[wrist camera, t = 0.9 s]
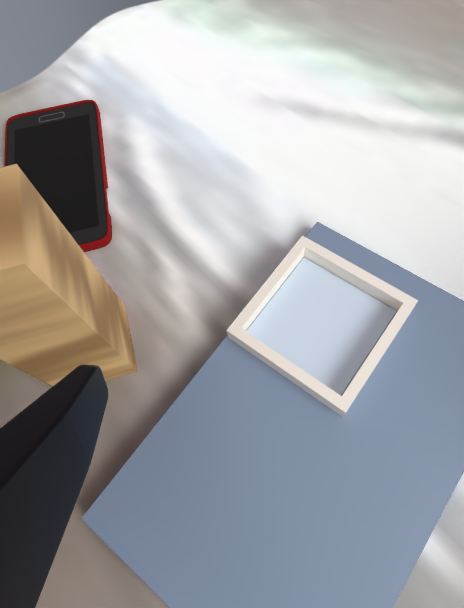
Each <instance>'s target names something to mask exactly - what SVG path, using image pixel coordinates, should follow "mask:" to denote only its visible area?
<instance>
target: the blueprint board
mask: <svg viewBox="0 0 464 608" xmlns="http://www.w3.org/2000/svg"><path fill="white" fill-rule="evenodd" d="M227 334H228V335H227V336H226V337H225V339H224V340H223V341H222V342H221V344H220V345H219V346H218V347H217V349H216V350H215V351H214V352H213V354H212V355H211V356H210V357H209V359H208V360H207V361H206V362H205V364H204V365H203V366H202V367H201V369H200V370H199V371H198V372H197V374H196V375H195V376H194V377H193V379H192V380H191V381H190V383H189V384H188V385H187V386H186V388H185V389H184V390H183V391H182V393H181V394H180V395H179V396H178V398H177V399H176V400H175V401H174V403H173V404H172V405H171V406H170V408H169V409H168V410H167V411H166V413H165V414H164V415H163V416H162V418H161V419H160V420H159V421H158V423H157V424H156V425H155V426H154V428H153V429H152V430H151V432H150V433H149V434H148V435H147V437H146V438H145V439H144V440H143V442H142V443H141V444H140V445H139V447H138V448H137V449H136V450H135V452H134V453H133V454H132V455H131V457H130V458H129V459H128V460H127V462H126V463H125V464H124V465H123V467H122V468H121V469H120V470H119V472H118V473H117V474H116V475H115V477H114V478H113V479H112V481H111V482H110V483H109V484H108V486H107V487H106V488H105V489H104V491H103V492H102V493H101V494H100V496H99V497H98V498H97V499H96V501H95V502H94V503H93V504H92V506H91V507H90V508H89V509H88V511H87V512H86V513H85V514H84V516H83V517H82V518H81V519H82V520H83V521H84V522H85V523H86V524H87V525H88V526H89V527H90V528H91V529H92V530H93V531H94V532H95V533H96V534H97V535H98V536H99V537H100V538H101V539H102V540H103V541H104V542H105V543H106V544H107V545H108V546H109V547H110V548H111V549H112V550H113V551H114V552H115V553H116V554H117V555H118V556H119V557H120V558H121V559H122V560H123V561H124V562H125V563H126V564H127V565H128V566H129V567H130V568H131V569H132V570H133V571H134V572H135V573H136V574H137V575H138V576H139V577H140V578H141V579H142V580H143V581H144V582H145V583H146V584H147V585H148V586H149V587H150V588H151V589H152V590H153V591H154V592H155V593H156V594H157V595H158V596H159V597H160V598H161V599H162V600H163V601H164V602H165V603H166V604H167V605H168V606H169V607H170V608H393V606H394V604H395V602H396V600H397V598H398V596H399V594H400V593H401V591H402V589H403V587H404V585H405V583H406V581H407V579H408V577H409V575H410V573H411V572H412V570H413V568H414V566H415V564H416V562H417V560H418V558H419V556H420V554H421V552H422V550H423V549H424V547H425V545H426V543H427V541H428V539H429V537H430V535H431V533H432V531H433V529H434V527H435V526H436V524H437V522H438V520H439V518H440V516H441V514H442V512H443V510H444V508H445V506H446V505H447V503H448V501H449V499H450V497H451V495H452V493H453V491H454V489H455V487H456V485H457V483H458V482H459V480H460V478H461V476H462V474H463V472H464V301H462V300H461V299H459V298H457V297H455V296H453V295H451V294H449V293H448V292H446V291H444V290H442V289H440V288H438V287H437V286H435V285H433V284H431V283H429V282H427V281H425V280H424V279H422V278H420V277H418V276H416V275H414V274H413V273H411V272H409V271H407V270H405V269H403V268H402V267H400V266H398V265H396V264H394V263H392V262H390V261H389V260H387V259H385V258H383V257H381V256H379V255H378V254H376V253H374V252H372V251H370V250H368V249H367V248H365V247H363V246H361V245H359V244H357V243H355V242H354V241H352V240H350V239H348V238H346V237H344V236H343V235H341V234H339V233H337V232H335V231H333V230H332V229H330V228H328V227H326V226H324V225H322V224H320V223H319V222H317V223H316V224H315V225H314V227H313V228H312V229H311V230H310V232H309V233H308V234H307V236H306V237H304V236H303V235H302V237H301V238H300V239H299V240H298V242H297V243H296V244H295V245H294V247H293V248H292V249H291V250H290V252H289V253H288V254H287V255H286V257H285V258H284V259H283V260H282V262H281V263H280V264H279V265H278V267H277V268H276V269H275V270H274V272H273V273H272V274H271V275H270V277H269V278H268V279H267V280H266V282H265V283H264V284H263V285H262V287H261V288H260V289H259V290H258V292H257V293H256V294H255V295H254V297H253V298H252V299H251V300H250V302H249V303H248V304H247V305H246V307H245V308H244V309H243V310H242V312H241V313H240V314H239V315H238V317H237V318H236V319H235V320H234V322H233V323H232V324H231V325H230V327H229V328H228V329H227Z"/></svg>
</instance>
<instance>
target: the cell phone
mask: <svg viewBox="0 0 464 608" xmlns="http://www.w3.org/2000/svg"><path fill="white" fill-rule="evenodd" d="M13 164H17V165H18V166H19V168H20V169H21V170H22V171H23V173H24V174H25V175H26V177H27V178H28V179H29V181H30V182H31V183H32V185H33V186H34V187H35V189H36V190H37V191H38V193H39V194H40V195H41V196H42V198H43V199H44V200H45V202H46V203H47V204H48V206H49V207H50V208H51V210H52V211H53V212H54V214H55V215H56V216H57V218H58V219H59V220H60V221H61V223H62V224H63V225H64V227H65V228H66V229H67V231H68V232H69V233H70V235H71V236H72V237H73V239H74V240H75V241H76V242H77V244H78V245H79V246H80V248H81V249H82V250H83V252H86V251H91V250H95V249H99V248H102V247H104V246H106V245H108V244H109V243H110V241H111V239H112V225H111V216H110V215H109V211H108V201H107V191H106V188H108V184H107V175H106V166H105V156H104V147H103V138H102V128H101V119H100V112H99V109H98V106H97V104H96V102H95V101H93V100H84V101H78V102H74V103H69V104H64V105H60V106H55V107H50V108H46V109H41V110H36V111H32V112H27V113H22V114H18V115H15V116H12V117H10V118H9V119H8V121H7V124H6V134H5V166H4V167H6V166H10V165H13Z"/></svg>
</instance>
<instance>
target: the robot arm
mask: <svg viewBox="0 0 464 608" xmlns="http://www.w3.org/2000/svg"><path fill="white" fill-rule="evenodd" d="M107 400H108V388H107V385H106V382H105V379H104V376H103V373H102V370H101V368H100V367H99V366H97V365H86V364H82V365H80V366H78V367H76V368H75V369H74V370H73V371H71V372H70V373H69V374H68V375H66V376H65V377H64V378H63V379H61V380H60V381H59V382H58V383H56V384H55V385H54V386H53V387H51V388H50V389H49V390H48V391H46V392H45V393H44V394H43V395H41V396H40V397H39V398H38V399H36V400H35V401H34V402H33V403H32V404H30V405H29V406H28V407H27V408H25V409H24V410H23V411H22V412H20V413H19V414H18V415H17V416H15V417H14V418H13V419H12V420H10V421H9V422H8V423H7V424H5V425H4V426H3V427H2V428H0V608H35V607H36V604H37V602H38V599H39V596H40V594H41V591H42V589H43V586H44V583H45V581H46V578H47V576H48V573H49V570H50V568H51V565H52V563H53V560H54V557H55V555H56V552H57V550H58V547H59V545H60V542H61V539H62V537H63V534H64V532H65V529H66V526H67V524H68V521H69V519H70V516H71V513H72V511H73V508H74V506H75V503H76V500H77V498H78V495H79V493H80V490H81V487H82V485H83V482H84V480H85V477H86V474H87V472H88V469H89V466H90V463H91V460H92V456H93V453H94V449H95V445H96V442H97V438H98V434H99V430H100V426H101V423H102V419H103V415H104V411H105V407H106V404H107Z"/></svg>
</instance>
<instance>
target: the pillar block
mask: <svg viewBox="0 0 464 608" xmlns="http://www.w3.org/2000/svg"><path fill="white" fill-rule="evenodd" d="M0 359H1V360H2V361H4V362H6V363H8V364H10V365H12V366H14V367H16V368H18V369H20V370H22V371H24V372H26V373H28V374H30V375H32V376H34V377H36V378H38V379H40V380H42V381H44V382H46V383H48V384H50V385H52V386H54V385H55V384H56V383H58V382H59V381H60V380H61V379H63V378H64V377H65V376H66V375H68V374H69V373H70V372H71V371H73V370H74V369H75V368H76V367H78V366H80V365H82V364H86V365H97V366H99V367H100V368H101V370H102V373H103V376H104V379H105V380H109V379H112V378H115V377H119V376H122V375H126V374H129V373H132V372H136V371H137V367H136V362H135V356H134V351H133V345H132V340H131V335H130V329H129V324H128V319H127V313H126V308H125V306H124V304H123V303H122V302H121V300H120V299H119V298H118V296H117V295H116V294H115V292H114V291H113V290H112V289H111V287H110V286H109V285H108V283H107V282H106V281H105V279H104V278H103V277H102V275H101V274H100V273H99V271H98V270H97V269H96V267H95V266H94V265H93V264H92V262H91V261H90V260H89V258H88V257H87V256H86V254H85V253H84V252H83V250H82V249H81V248H80V246H79V245H78V244H77V242H76V241H75V240H74V239H73V237H72V236H71V235H70V233H69V232H68V231H67V229H66V228H65V227H64V225H63V224H62V223H61V221H60V220H59V219H58V218H57V216H56V215H55V214H54V212H53V211H52V210H51V208H50V207H49V206H48V204H47V203H46V202H45V200H44V199H43V198H42V196H41V195H40V194H39V193H38V191H37V190H36V189H35V187H34V186H33V185H32V183H31V182H30V181H29V179H28V178H27V177H26V175H25V174H24V173H23V171H22V170H21V169H20V168H19V166H18V165H17V164H13V165H10V166H6V167H2V168H0Z"/></svg>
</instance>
